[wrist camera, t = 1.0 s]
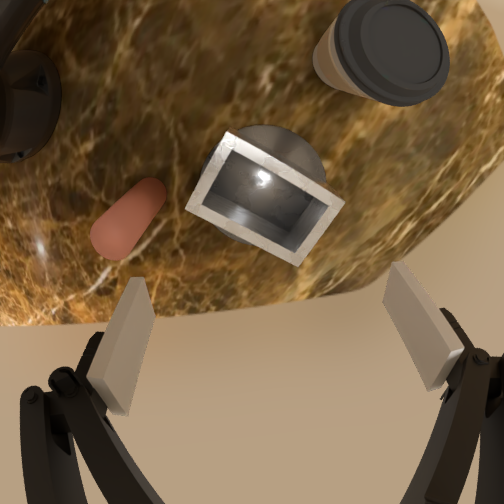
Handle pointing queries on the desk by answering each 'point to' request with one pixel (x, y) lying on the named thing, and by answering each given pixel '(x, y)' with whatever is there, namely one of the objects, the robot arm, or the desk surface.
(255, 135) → the rosette bracket
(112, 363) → the robot arm
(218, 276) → the desk surface
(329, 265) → the desk surface
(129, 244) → the pin
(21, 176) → the desk surface
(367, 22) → the coffee cup
